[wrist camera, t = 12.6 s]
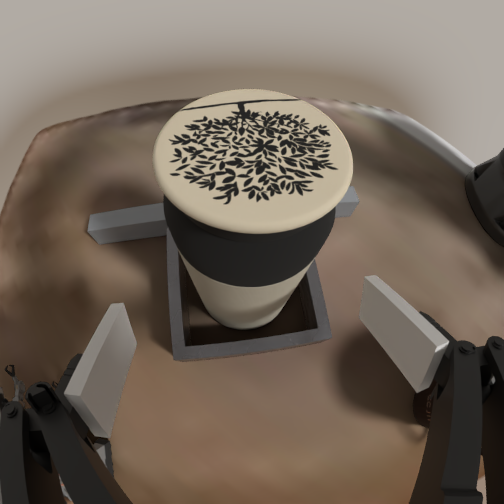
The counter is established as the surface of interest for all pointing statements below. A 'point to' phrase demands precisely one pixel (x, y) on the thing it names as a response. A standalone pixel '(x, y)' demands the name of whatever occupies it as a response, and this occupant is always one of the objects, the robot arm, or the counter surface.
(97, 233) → the rail
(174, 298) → the grey square frame
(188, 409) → the counter surface
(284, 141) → the travel mug
